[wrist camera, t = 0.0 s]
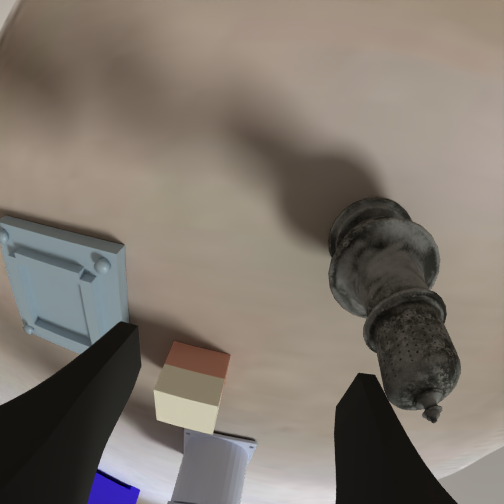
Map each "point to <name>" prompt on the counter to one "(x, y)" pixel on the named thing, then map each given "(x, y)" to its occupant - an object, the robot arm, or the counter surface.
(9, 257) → the base plate
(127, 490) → the bracket
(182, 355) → the cream and red block
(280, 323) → the counter surface
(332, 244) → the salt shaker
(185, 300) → the counter surface
